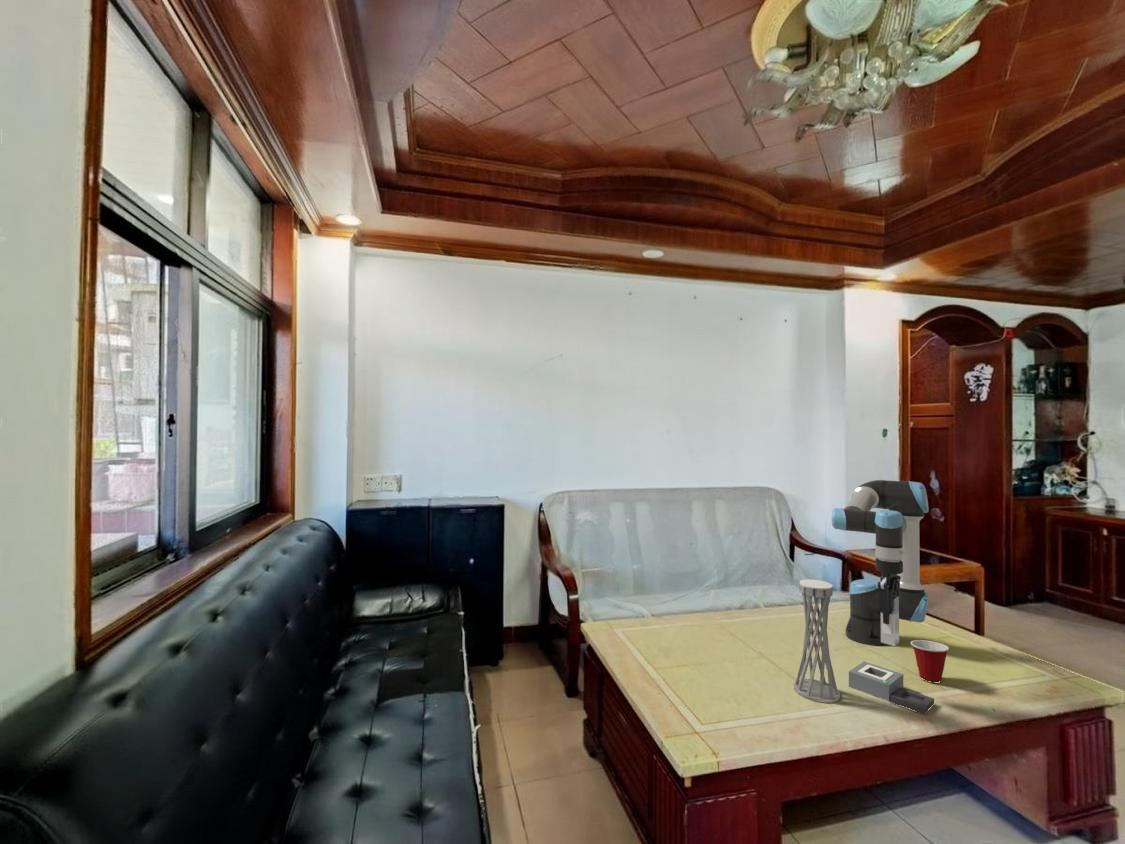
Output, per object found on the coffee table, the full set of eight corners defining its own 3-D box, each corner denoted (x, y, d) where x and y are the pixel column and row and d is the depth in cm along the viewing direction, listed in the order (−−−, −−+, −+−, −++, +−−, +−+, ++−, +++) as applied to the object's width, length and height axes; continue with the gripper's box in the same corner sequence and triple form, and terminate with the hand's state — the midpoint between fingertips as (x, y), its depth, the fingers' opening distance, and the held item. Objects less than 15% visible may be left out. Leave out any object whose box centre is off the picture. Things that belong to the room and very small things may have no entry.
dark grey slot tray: (890, 702, 162) (890, 696, 162) (901, 693, 167) (901, 687, 167) (924, 715, 155) (924, 708, 155) (934, 705, 160) (934, 698, 160)
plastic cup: (928, 670, 183) (928, 636, 183) (957, 685, 173) (957, 649, 173) (902, 673, 181) (902, 639, 181) (931, 688, 170) (930, 652, 170)
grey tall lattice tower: (838, 707, 159) (837, 592, 159) (790, 695, 166) (790, 585, 166) (841, 688, 170) (840, 581, 171) (797, 678, 177) (796, 575, 178)
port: (848, 686, 172) (848, 670, 172) (863, 675, 179) (863, 660, 179) (889, 701, 162) (889, 684, 162) (903, 689, 170) (903, 673, 170)
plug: (880, 642, 168) (880, 595, 168) (885, 638, 170) (884, 593, 170) (894, 646, 165) (894, 599, 165) (899, 642, 167) (898, 596, 167)
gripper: (892, 566, 159) (893, 642, 159) (911, 556, 170) (911, 627, 170) (866, 561, 165) (866, 634, 165) (885, 552, 176) (886, 621, 176)
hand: (889, 631), depth 167 cm, fingers closed on plug, 4 cm apart
